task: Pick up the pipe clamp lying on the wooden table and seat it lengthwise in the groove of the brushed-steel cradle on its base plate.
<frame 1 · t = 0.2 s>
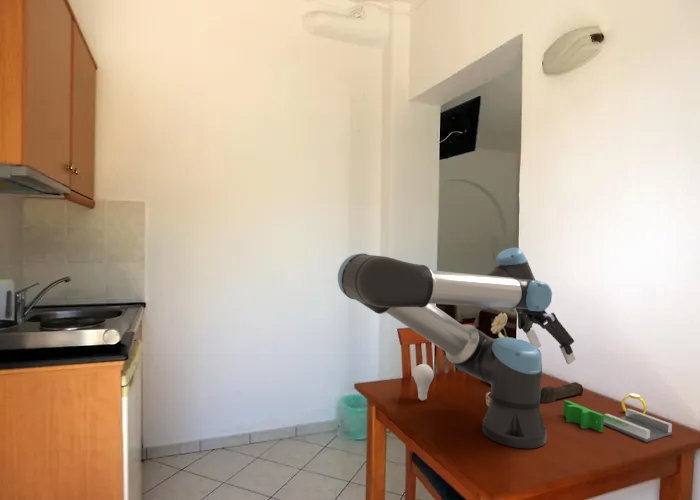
hand: (553, 354, 134), 15 cm above the table, tool tilted 30°, fingers open, 13 cm apart
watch: (633, 415, 126), on the table
flower in vase: (501, 385, 149), on the table
pipe clamp: (579, 424, 119), on the table
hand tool: (560, 400, 137), on the table
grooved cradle: (636, 429, 116), on the table
lightbulb: (422, 401, 132), on the table
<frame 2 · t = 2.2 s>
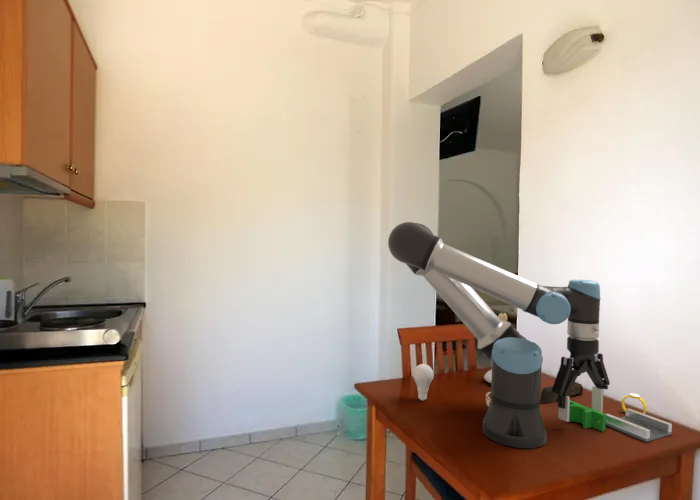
hand: (580, 415, 119), 2 cm above the table, tool pointing down, fingers open, 13 cm apart
nothing on the table moved.
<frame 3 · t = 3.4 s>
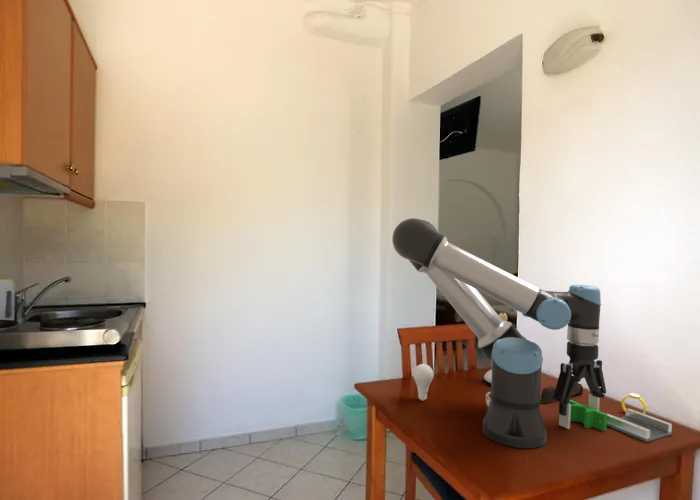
hand: (579, 423, 119), 0 cm above the table, tool pointing down, fingers open, 11 cm apart
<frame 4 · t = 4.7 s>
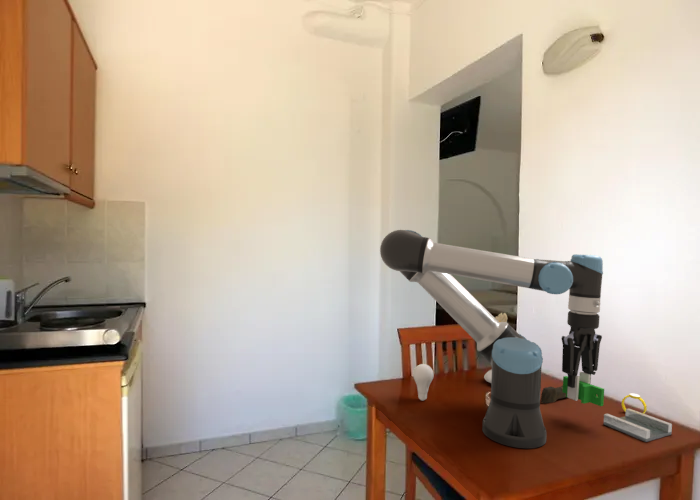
hand: (578, 397, 119), 7 cm above the table, tool pointing down, fingers closed on pipe clamp, 4 cm apart
pipe clamp: (578, 399, 119), point 7 cm above the table, touching gripper
everything else where it was.
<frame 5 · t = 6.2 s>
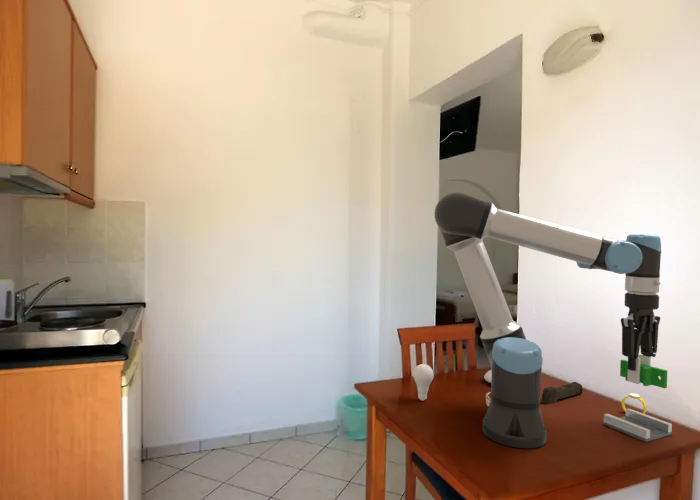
hand: (638, 381, 116), 13 cm above the table, tool pointing down, fingers closed on pipe clamp, 4 cm apart
pipe clamp: (639, 382, 116), point 13 cm above the table, touching gripper
everything else where it was.
when the fingers open (3 cm above the table, at t = 7.8 s): pipe clamp drops 2 cm, resting on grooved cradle.
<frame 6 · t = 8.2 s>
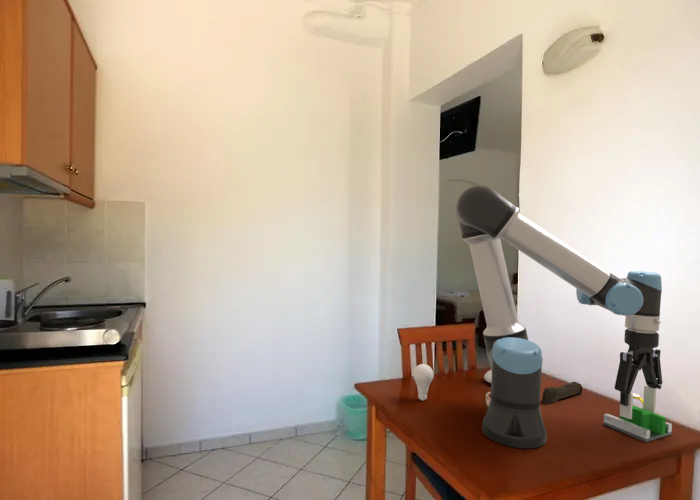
hand: (637, 414, 116), 4 cm above the table, tool pointing down, fingers open, 9 cm apart
pipe clamp: (637, 427, 116), point 1 cm above the table, touching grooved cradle
everything else where it was.
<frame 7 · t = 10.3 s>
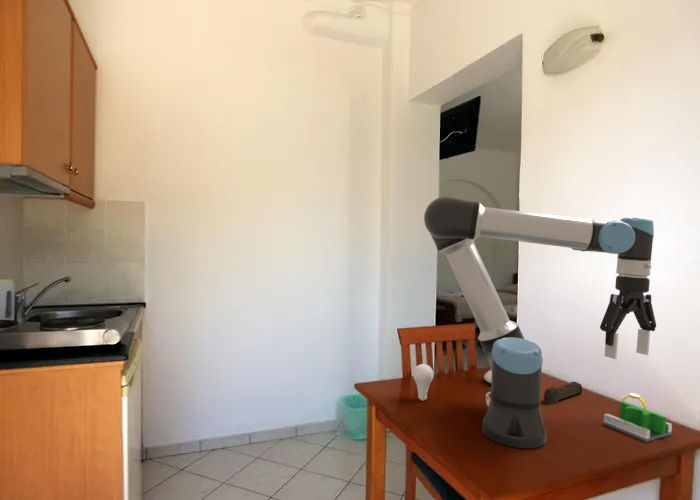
hand: (626, 355, 117), 19 cm above the table, tool pointing down, fingers open, 13 cm apart
nothing on the table moved.
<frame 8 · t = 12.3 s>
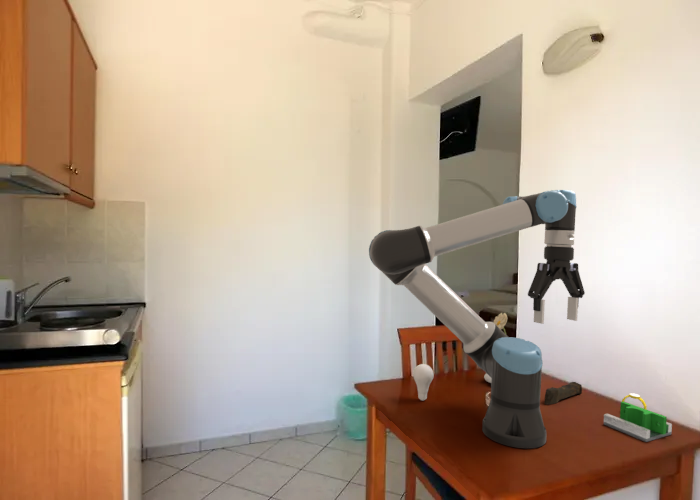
hand: (555, 321, 123), 27 cm above the table, tool pointing down, fingers open, 13 cm apart
nothing on the table moved.
at the end: pipe clamp 0.7 cm off-centre on the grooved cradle, point 0.6 cm above the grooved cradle's base; pipe clamp tilted 0°; the gripper is holding nothing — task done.
